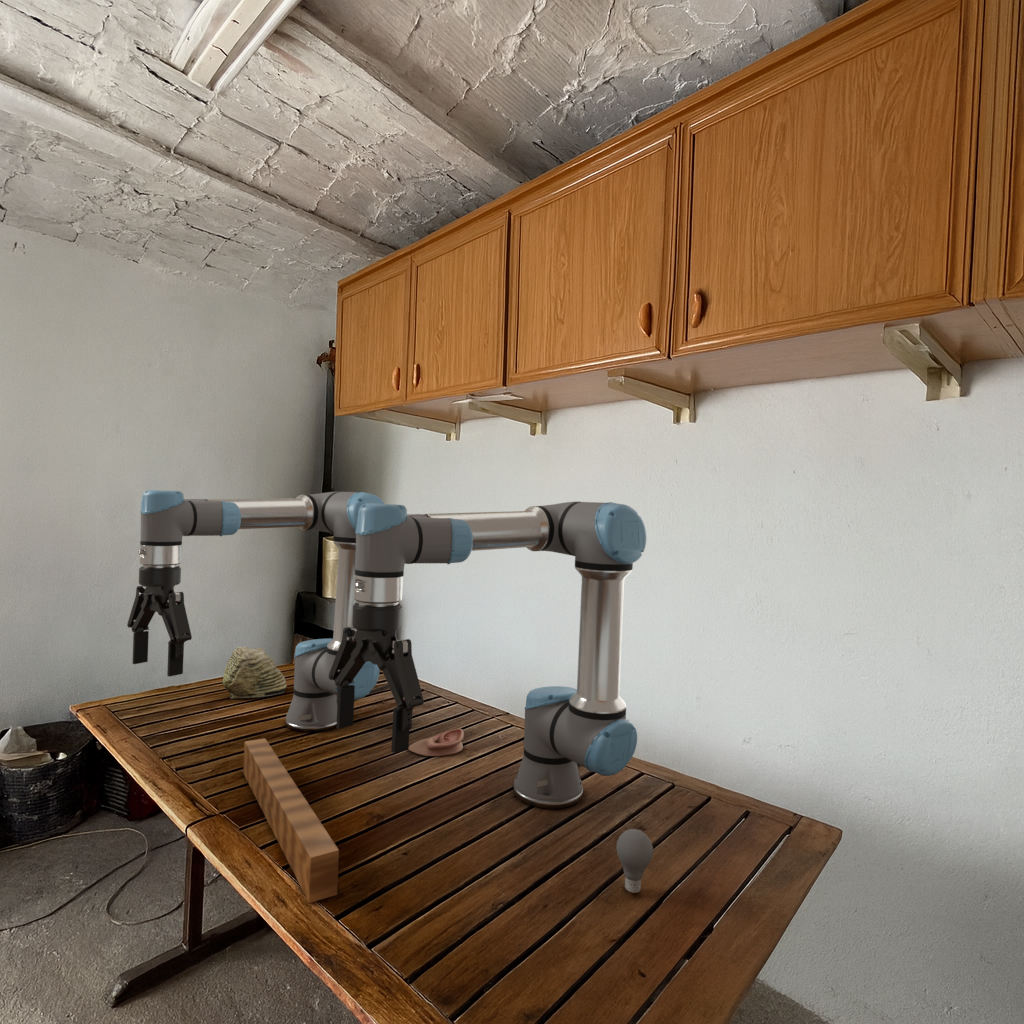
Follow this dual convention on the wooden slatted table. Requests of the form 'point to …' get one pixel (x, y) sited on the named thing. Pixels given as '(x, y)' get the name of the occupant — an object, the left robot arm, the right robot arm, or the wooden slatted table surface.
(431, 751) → the anatomical model
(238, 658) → the fossil
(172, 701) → the wooden slatted table surface
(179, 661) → the left robot arm
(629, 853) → the light bulb
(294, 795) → the bar
